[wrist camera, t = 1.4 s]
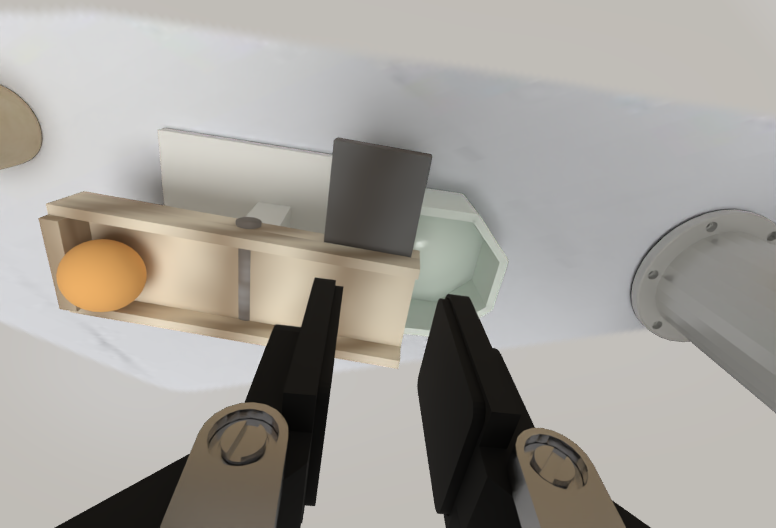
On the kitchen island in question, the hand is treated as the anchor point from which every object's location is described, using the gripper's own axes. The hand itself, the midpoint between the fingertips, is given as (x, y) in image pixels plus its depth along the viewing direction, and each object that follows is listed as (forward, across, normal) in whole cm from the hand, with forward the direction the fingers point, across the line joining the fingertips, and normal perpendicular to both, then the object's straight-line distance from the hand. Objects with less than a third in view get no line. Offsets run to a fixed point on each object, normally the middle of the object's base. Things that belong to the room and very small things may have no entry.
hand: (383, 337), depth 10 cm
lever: (+14, +7, +4) cm, 16 cm away
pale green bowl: (+21, -5, +6) cm, 23 cm away
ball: (+11, +14, +6) cm, 19 cm away
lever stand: (+21, +7, +6) cm, 23 cm away
